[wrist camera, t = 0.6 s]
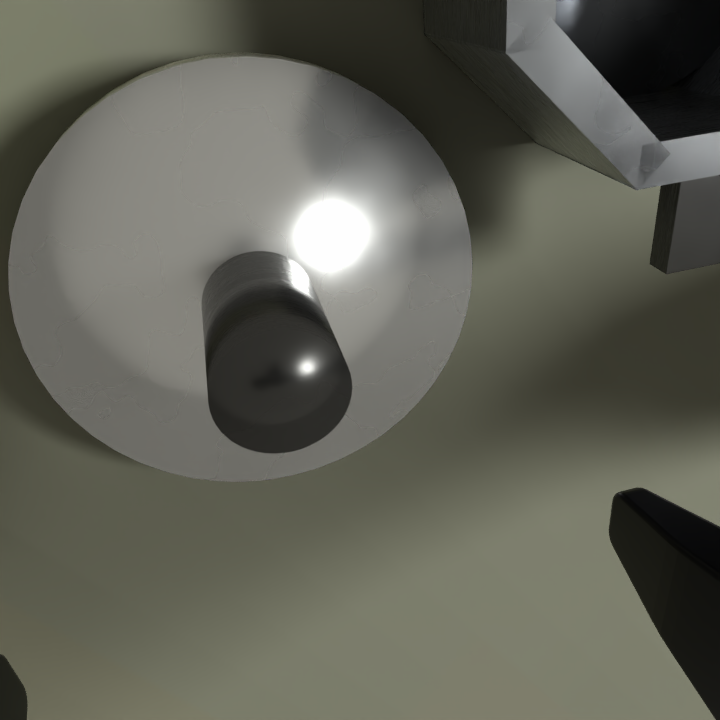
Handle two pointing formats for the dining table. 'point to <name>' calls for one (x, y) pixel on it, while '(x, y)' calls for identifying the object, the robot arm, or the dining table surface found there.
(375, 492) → the dining table surface
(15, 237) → the lid
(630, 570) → the robot arm
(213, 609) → the dining table surface
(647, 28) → the pot
